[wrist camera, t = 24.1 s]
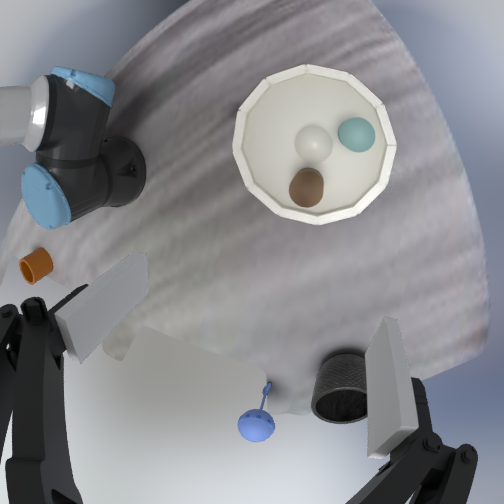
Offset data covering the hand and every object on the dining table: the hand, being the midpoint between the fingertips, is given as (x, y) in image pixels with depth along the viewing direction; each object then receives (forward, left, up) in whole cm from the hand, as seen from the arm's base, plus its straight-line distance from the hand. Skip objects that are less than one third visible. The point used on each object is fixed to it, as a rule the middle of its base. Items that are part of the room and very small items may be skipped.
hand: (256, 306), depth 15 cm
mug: (-46, -70, -37) cm, 92 cm away
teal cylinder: (0, +11, -36) cm, 37 cm away
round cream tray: (-3, +6, -37) cm, 37 cm away
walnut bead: (0, 0, -36) cm, 36 cm away
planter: (+36, -23, -37) cm, 56 cm away
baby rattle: (+29, -43, -37) cm, 64 cm away
